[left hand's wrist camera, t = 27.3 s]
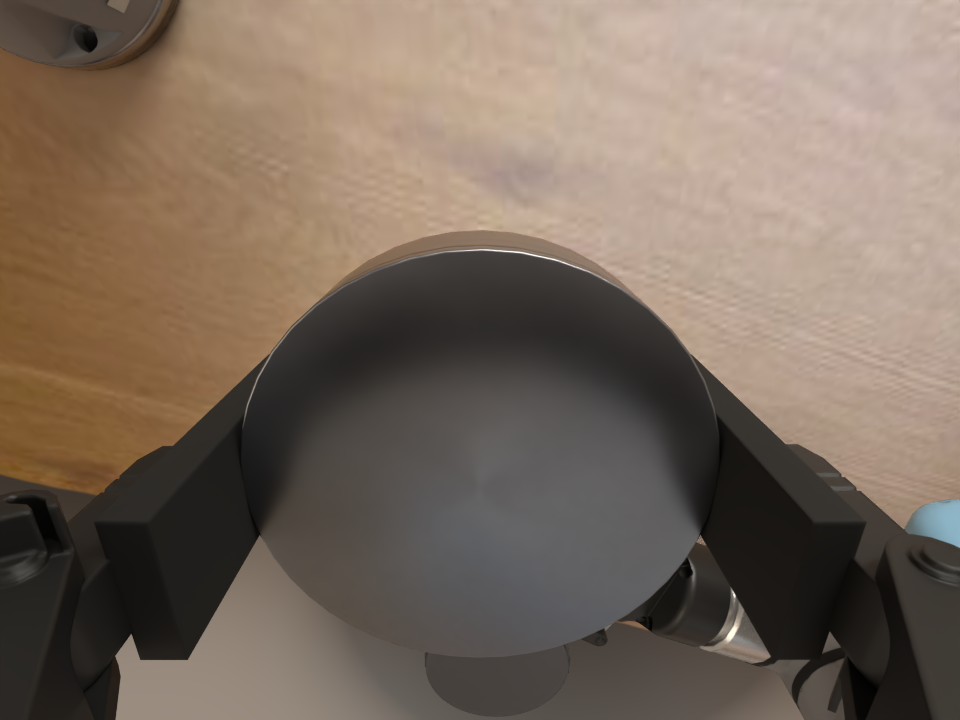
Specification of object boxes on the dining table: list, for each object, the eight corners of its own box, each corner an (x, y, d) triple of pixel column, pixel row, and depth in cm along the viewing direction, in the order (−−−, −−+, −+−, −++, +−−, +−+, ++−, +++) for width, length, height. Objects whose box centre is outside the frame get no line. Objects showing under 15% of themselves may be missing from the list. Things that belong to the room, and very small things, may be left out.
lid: (764, 367, 12) (826, 413, 10) (538, 630, 15) (548, 709, 13) (394, 137, 10) (371, 133, 8) (222, 489, 13) (173, 554, 11)
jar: (536, 516, 46) (568, 722, 30) (442, 515, 46) (421, 720, 30) (542, 434, 43) (581, 612, 26) (441, 432, 43) (417, 610, 26)
